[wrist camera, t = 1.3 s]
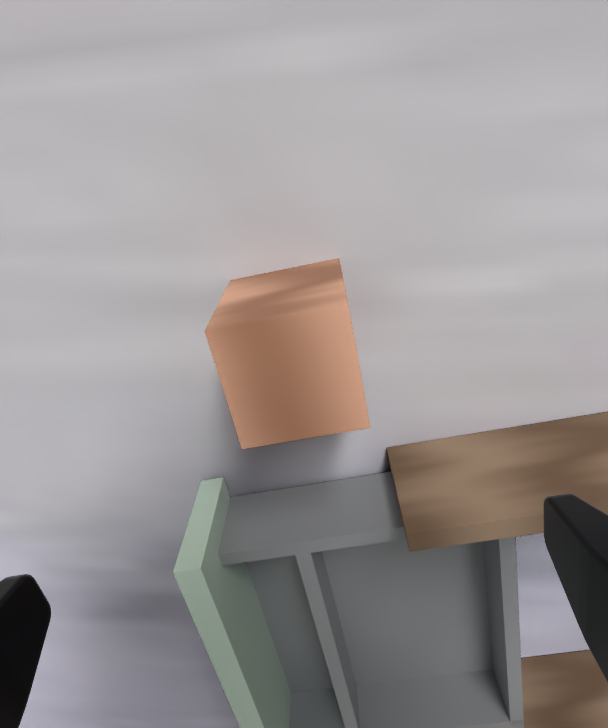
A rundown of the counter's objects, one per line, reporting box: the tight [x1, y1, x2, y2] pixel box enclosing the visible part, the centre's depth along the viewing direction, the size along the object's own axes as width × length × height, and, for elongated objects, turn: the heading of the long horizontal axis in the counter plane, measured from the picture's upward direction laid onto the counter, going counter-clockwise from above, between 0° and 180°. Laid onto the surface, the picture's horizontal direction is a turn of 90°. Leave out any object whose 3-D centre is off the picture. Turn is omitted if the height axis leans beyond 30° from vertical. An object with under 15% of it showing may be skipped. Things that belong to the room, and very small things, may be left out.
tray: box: [173, 472, 524, 728], centre depth 23 cm, size 12×15×5 cm
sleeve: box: [387, 412, 608, 728], centre depth 22 cm, size 12×15×5 cm
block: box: [205, 258, 370, 449], centre depth 17 cm, size 4×4×5 cm
